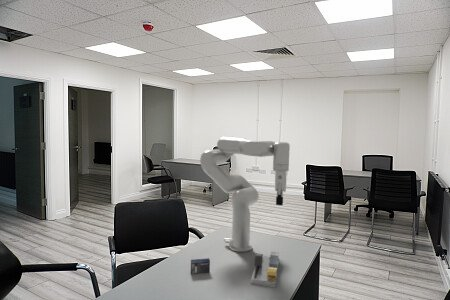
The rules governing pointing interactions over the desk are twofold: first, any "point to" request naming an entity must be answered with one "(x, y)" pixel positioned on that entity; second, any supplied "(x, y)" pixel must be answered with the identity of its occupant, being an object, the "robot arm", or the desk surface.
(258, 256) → the slider knob
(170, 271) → the desk surface
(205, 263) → the mini dv tape
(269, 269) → the amber rocker
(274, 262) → the slate rocker
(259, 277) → the panel
